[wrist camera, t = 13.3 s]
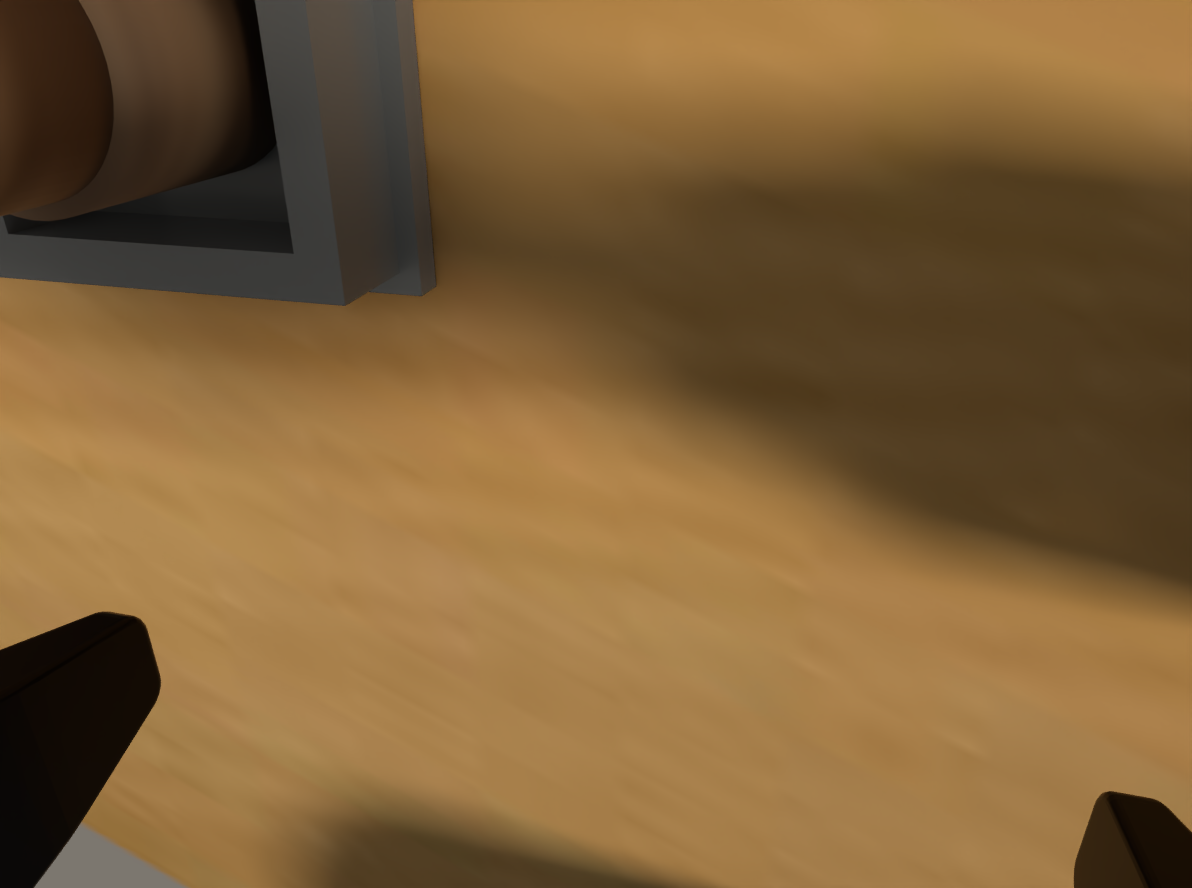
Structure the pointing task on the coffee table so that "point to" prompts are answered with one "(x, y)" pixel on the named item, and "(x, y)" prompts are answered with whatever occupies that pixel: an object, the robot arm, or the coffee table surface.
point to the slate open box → (280, 182)
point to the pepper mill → (126, 100)
